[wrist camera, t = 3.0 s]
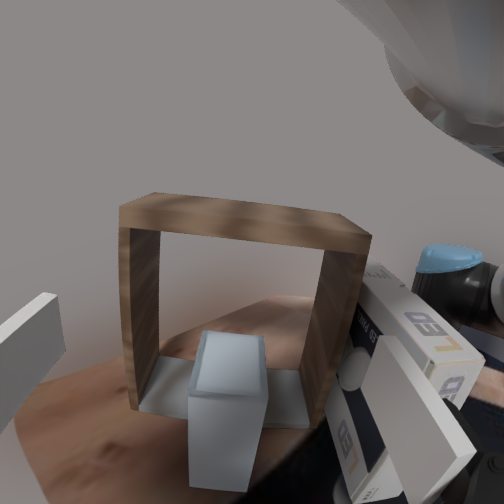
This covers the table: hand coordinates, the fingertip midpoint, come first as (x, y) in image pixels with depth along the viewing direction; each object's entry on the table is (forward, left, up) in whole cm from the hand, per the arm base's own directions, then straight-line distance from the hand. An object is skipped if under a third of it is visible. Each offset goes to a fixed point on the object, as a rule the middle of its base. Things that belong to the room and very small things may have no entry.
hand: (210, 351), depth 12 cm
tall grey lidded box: (-1, -13, -24) cm, 27 cm away
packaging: (-18, -21, -25) cm, 37 cm away
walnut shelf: (-1, -25, -24) cm, 35 cm away
